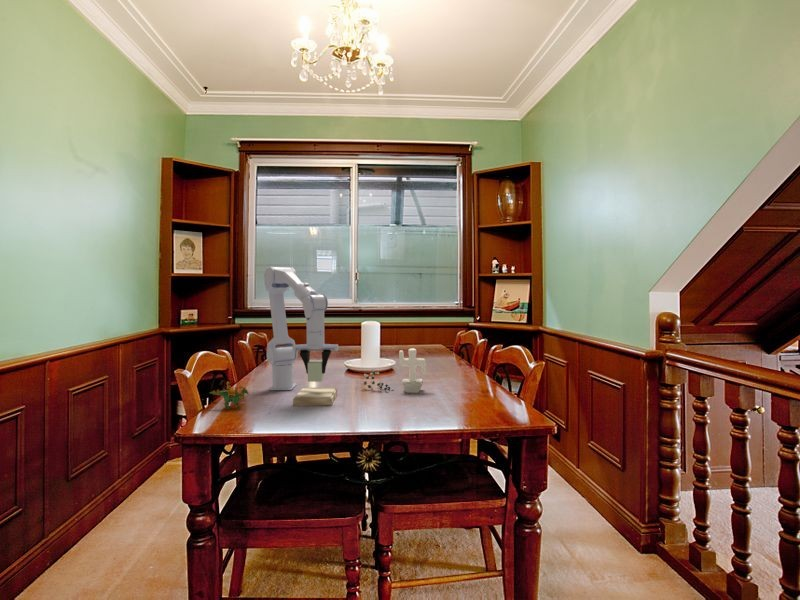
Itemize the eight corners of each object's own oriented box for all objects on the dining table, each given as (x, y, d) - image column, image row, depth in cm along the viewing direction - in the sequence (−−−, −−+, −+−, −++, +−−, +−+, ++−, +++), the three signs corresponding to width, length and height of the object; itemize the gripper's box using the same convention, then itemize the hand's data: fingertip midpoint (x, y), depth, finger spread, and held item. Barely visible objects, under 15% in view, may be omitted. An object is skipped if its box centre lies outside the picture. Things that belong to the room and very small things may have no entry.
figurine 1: (247, 409, 137) (246, 382, 137) (207, 409, 137) (207, 382, 137) (250, 406, 140) (250, 380, 140) (211, 406, 140) (211, 380, 140)
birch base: (302, 394, 155) (301, 387, 155) (337, 394, 155) (337, 387, 155) (293, 405, 141) (292, 397, 141) (331, 405, 141) (331, 397, 141)
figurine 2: (426, 393, 156) (426, 350, 155) (398, 393, 156) (398, 350, 156) (425, 388, 163) (425, 347, 162) (399, 388, 163) (399, 347, 163)
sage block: (310, 378, 150) (310, 360, 149) (323, 378, 150) (323, 360, 149) (307, 381, 145) (307, 362, 145) (321, 381, 145) (321, 362, 145)
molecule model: (387, 400, 156) (396, 378, 157) (356, 386, 159) (366, 365, 160) (390, 401, 162) (399, 380, 163) (360, 387, 165) (370, 367, 166)
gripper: (290, 332, 143) (290, 375, 144) (336, 332, 143) (336, 375, 144) (295, 330, 150) (295, 371, 151) (338, 330, 150) (339, 371, 151)
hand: (315, 373), depth 148 cm, fingers closed on sage block, 4 cm apart
